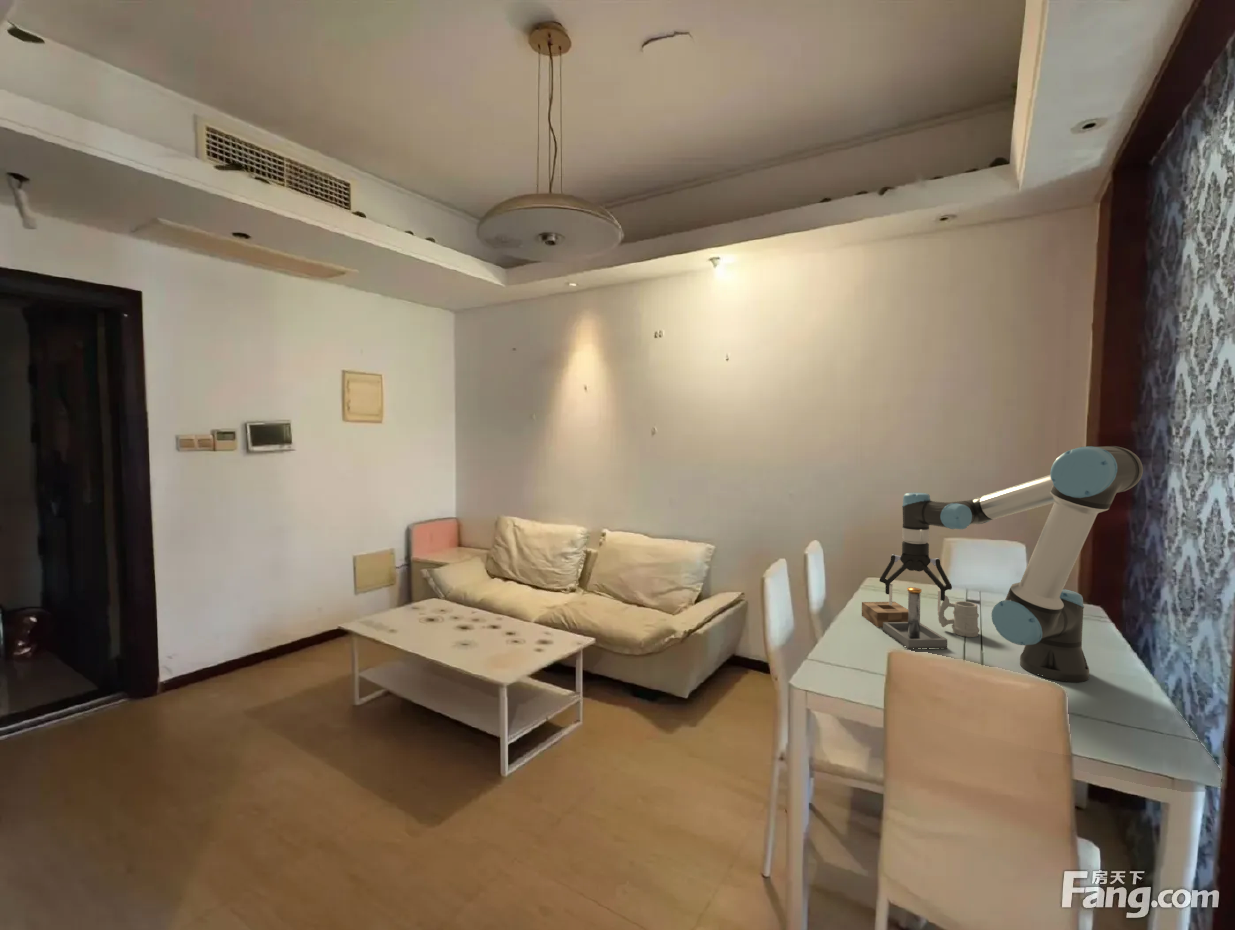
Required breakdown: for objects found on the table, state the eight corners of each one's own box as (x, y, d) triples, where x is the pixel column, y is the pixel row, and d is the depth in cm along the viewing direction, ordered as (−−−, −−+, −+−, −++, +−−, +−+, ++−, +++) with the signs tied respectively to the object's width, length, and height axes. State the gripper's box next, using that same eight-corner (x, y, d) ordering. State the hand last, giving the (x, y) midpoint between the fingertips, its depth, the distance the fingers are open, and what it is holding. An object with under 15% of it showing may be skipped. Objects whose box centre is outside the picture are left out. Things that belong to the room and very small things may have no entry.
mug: (980, 639, 178) (981, 602, 177) (937, 633, 184) (938, 597, 183) (977, 631, 185) (978, 596, 184) (936, 626, 190) (937, 591, 190)
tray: (947, 649, 170) (947, 639, 170) (908, 649, 170) (908, 640, 170) (918, 630, 186) (918, 621, 186) (882, 631, 186) (883, 622, 186)
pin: (921, 636, 179) (921, 588, 178) (920, 640, 175) (921, 591, 175) (907, 634, 181) (907, 586, 180) (906, 638, 177) (907, 589, 177)
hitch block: (912, 626, 190) (912, 612, 190) (877, 627, 190) (877, 612, 190) (894, 615, 202) (894, 601, 202) (861, 615, 202) (861, 602, 202)
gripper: (961, 542, 173) (959, 609, 175) (873, 536, 186) (872, 598, 187) (962, 547, 167) (960, 616, 168) (871, 540, 179) (870, 605, 180)
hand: (914, 607), depth 177 cm, fingers open, 13 cm apart
